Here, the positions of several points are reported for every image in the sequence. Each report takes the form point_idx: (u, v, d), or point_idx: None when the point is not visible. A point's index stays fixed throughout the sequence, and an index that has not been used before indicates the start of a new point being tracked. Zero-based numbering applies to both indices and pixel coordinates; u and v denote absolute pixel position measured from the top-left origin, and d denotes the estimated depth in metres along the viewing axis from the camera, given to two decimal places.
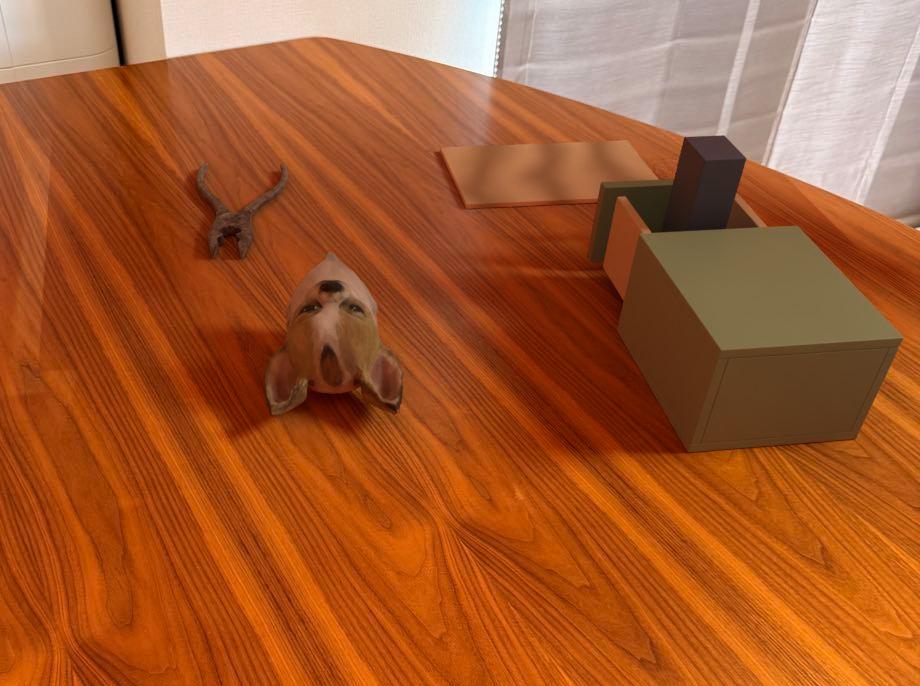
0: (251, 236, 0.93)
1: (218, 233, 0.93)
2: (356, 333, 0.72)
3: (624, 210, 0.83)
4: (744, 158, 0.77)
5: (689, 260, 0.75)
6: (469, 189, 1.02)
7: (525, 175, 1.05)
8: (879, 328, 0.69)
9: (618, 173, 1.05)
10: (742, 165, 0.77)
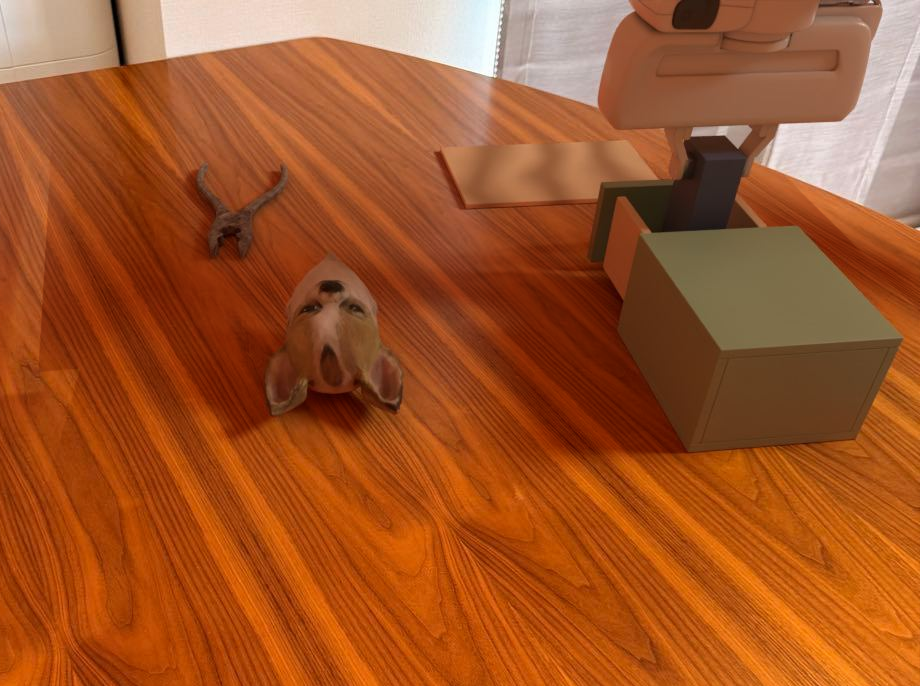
0: (251, 236, 0.93)
1: (218, 233, 0.93)
2: (356, 333, 0.72)
3: (624, 210, 0.83)
4: (745, 158, 0.77)
5: (689, 260, 0.75)
6: (469, 189, 1.02)
7: (525, 175, 1.05)
8: (879, 328, 0.69)
9: (618, 173, 1.05)
10: (742, 165, 0.77)
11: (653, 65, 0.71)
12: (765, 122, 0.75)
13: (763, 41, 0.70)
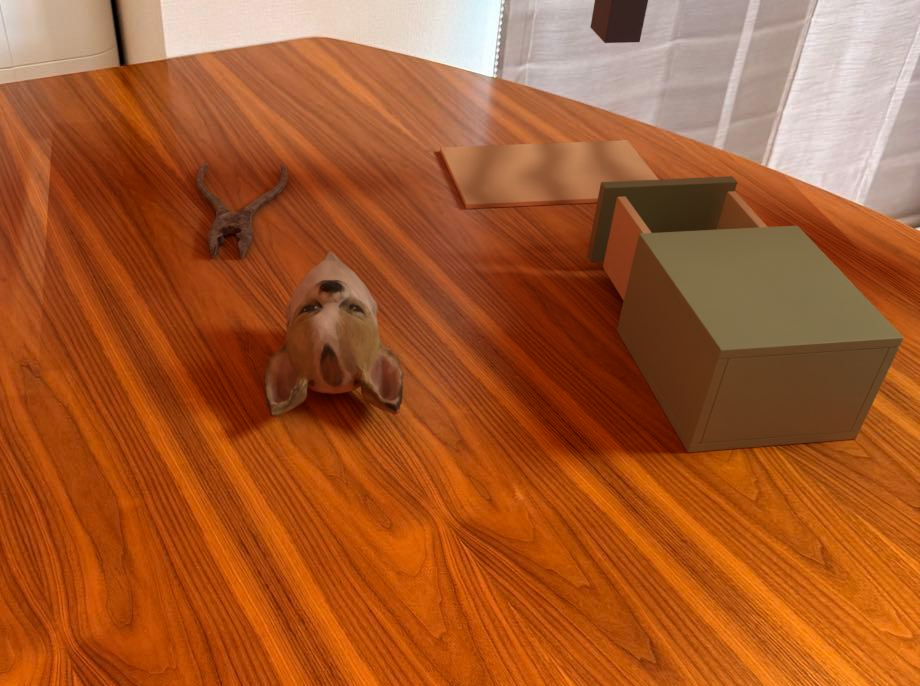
0: (251, 236, 0.93)
1: (218, 233, 0.93)
2: (356, 333, 0.72)
3: (624, 210, 0.83)
4: None
5: (689, 260, 0.75)
6: (469, 189, 1.02)
7: (525, 175, 1.05)
8: (879, 328, 0.69)
9: (618, 173, 1.05)
10: None
11: None
12: None
13: None
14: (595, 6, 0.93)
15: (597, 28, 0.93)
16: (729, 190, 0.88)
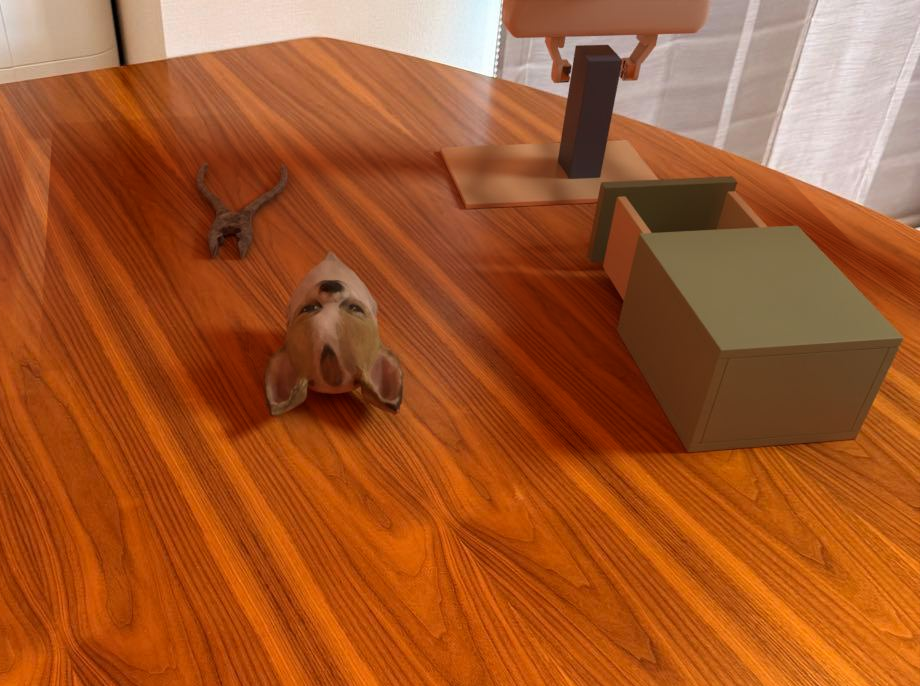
0: (251, 236, 0.93)
1: (218, 233, 0.93)
2: (356, 333, 0.72)
3: (624, 210, 0.83)
4: (620, 60, 0.96)
5: (689, 260, 0.75)
6: (469, 189, 1.02)
7: (525, 175, 1.05)
8: (879, 328, 0.69)
9: (618, 173, 1.05)
10: (619, 66, 0.97)
11: None
12: (634, 33, 0.95)
13: None
14: (561, 144, 1.06)
15: (563, 164, 1.06)
16: (729, 190, 0.88)
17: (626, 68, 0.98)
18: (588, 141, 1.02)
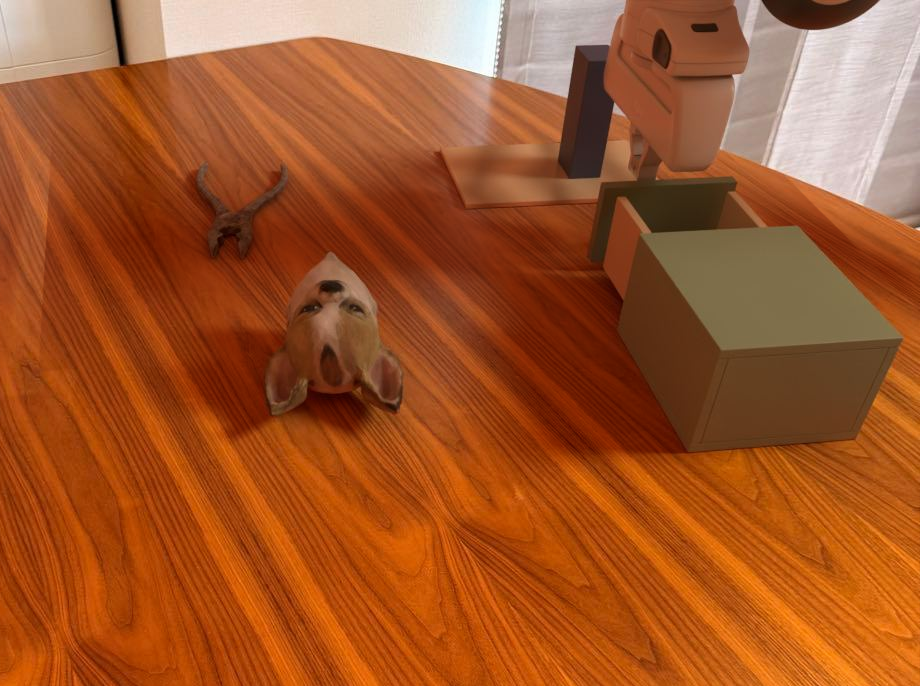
0: (251, 236, 0.93)
1: (218, 233, 0.93)
2: (356, 333, 0.72)
3: (624, 210, 0.83)
4: None
5: (689, 260, 0.75)
6: (469, 189, 1.02)
7: (525, 175, 1.05)
8: (879, 328, 0.69)
9: (618, 173, 1.05)
10: None
11: None
12: None
13: None
14: (561, 144, 1.06)
15: (563, 164, 1.06)
16: (729, 190, 0.88)
17: None
18: (588, 141, 1.02)
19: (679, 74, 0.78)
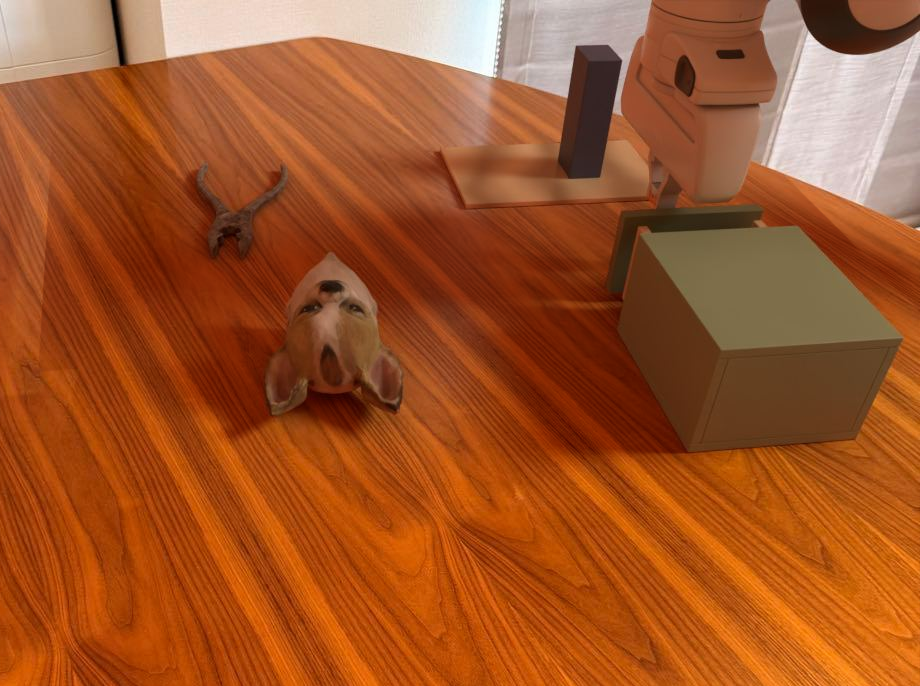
0: (251, 236, 0.93)
1: (218, 233, 0.93)
2: (356, 333, 0.72)
3: None
4: (620, 60, 0.96)
5: (689, 260, 0.75)
6: (469, 189, 1.02)
7: (525, 175, 1.05)
8: (879, 328, 0.69)
9: (618, 173, 1.05)
10: (619, 66, 0.97)
11: None
12: None
13: None
14: (561, 144, 1.06)
15: (563, 164, 1.06)
16: (754, 218, 0.84)
17: None
18: (588, 141, 1.02)
19: (703, 103, 0.74)
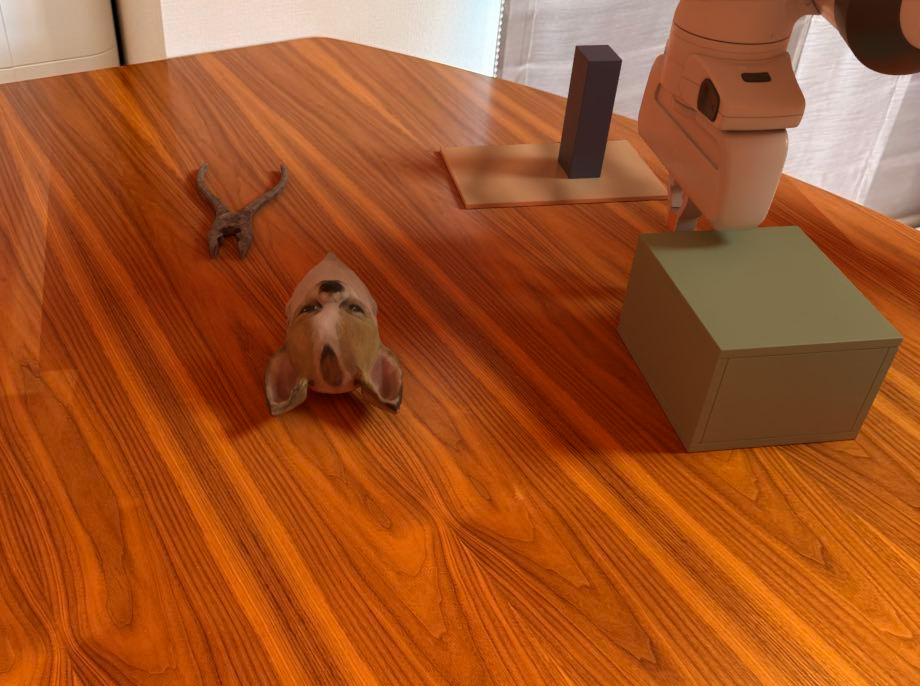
0: (251, 236, 0.93)
1: (218, 233, 0.93)
2: (356, 333, 0.72)
3: None
4: (620, 60, 0.96)
5: (689, 260, 0.75)
6: (469, 189, 1.02)
7: (525, 175, 1.05)
8: (879, 328, 0.69)
9: (618, 173, 1.05)
10: (619, 66, 0.97)
11: None
12: None
13: None
14: (561, 144, 1.06)
15: (563, 164, 1.06)
16: None
17: None
18: (588, 141, 1.02)
19: (728, 128, 0.71)
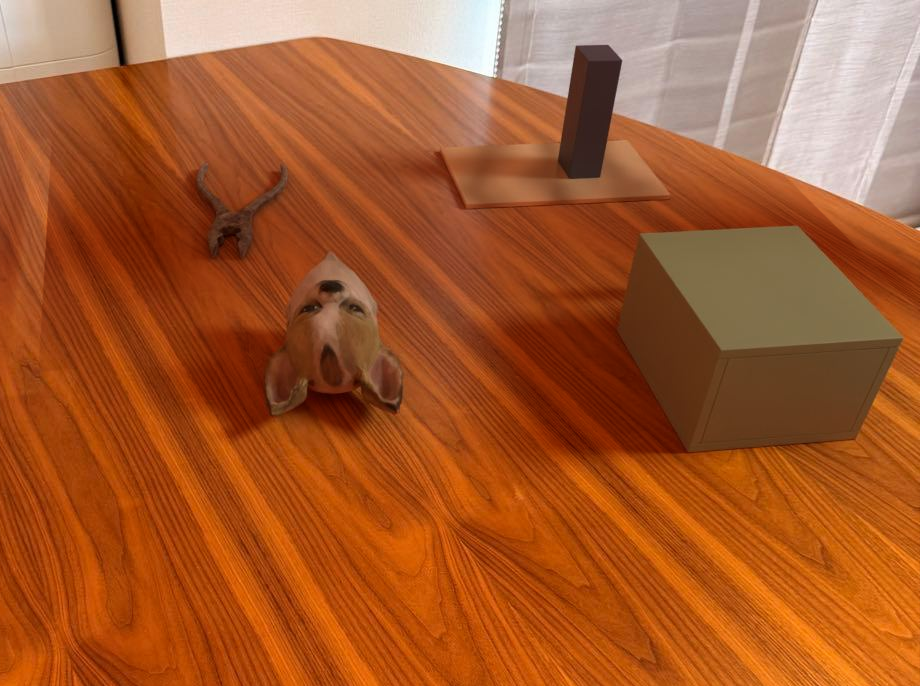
0: (251, 236, 0.93)
1: (218, 233, 0.93)
2: (356, 333, 0.72)
3: None
4: (620, 60, 0.96)
5: (689, 260, 0.75)
6: (469, 189, 1.02)
7: (525, 175, 1.05)
8: (879, 328, 0.69)
9: (618, 173, 1.05)
10: (619, 66, 0.97)
11: None
12: None
13: None
14: (561, 144, 1.06)
15: (563, 164, 1.06)
16: None
17: None
18: (588, 141, 1.02)
19: None
